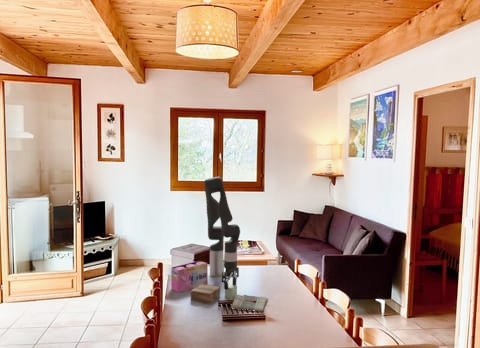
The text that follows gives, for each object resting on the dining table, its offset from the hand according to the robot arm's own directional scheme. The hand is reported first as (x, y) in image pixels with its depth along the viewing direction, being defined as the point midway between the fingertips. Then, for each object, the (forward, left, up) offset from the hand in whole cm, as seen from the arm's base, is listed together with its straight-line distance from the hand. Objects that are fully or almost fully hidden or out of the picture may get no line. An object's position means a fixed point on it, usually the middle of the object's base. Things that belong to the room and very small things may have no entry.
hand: (230, 287), depth 213 cm
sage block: (-1, 0, -6) cm, 6 cm away
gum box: (0, -30, -6) cm, 31 cm away
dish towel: (+3, +15, -6) cm, 17 cm away
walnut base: (+10, -10, -6) cm, 16 cm away
